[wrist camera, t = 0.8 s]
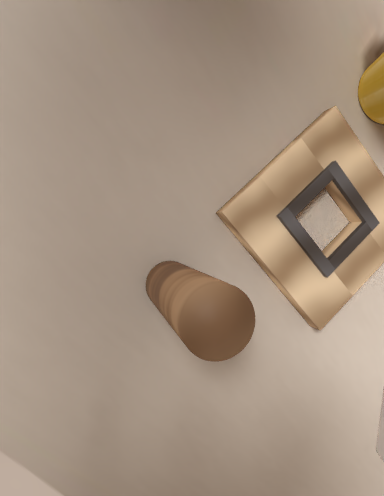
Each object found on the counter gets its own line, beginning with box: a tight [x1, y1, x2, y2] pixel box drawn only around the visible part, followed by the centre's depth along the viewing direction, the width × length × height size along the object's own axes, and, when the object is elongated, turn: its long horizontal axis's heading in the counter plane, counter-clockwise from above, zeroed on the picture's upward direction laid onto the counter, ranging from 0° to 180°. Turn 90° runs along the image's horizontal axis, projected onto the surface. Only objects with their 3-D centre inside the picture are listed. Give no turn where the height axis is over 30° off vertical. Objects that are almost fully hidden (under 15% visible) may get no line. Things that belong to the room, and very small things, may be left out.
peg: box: [146, 261, 255, 361], centre depth 27 cm, size 4×4×14 cm
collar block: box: [216, 106, 384, 330], centre depth 36 cm, size 16×16×2 cm
